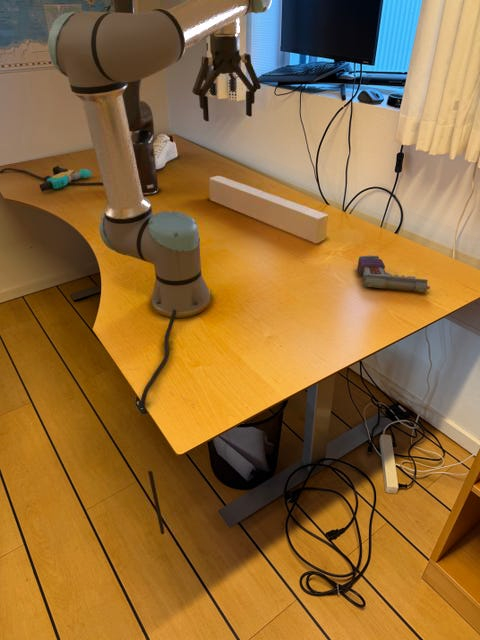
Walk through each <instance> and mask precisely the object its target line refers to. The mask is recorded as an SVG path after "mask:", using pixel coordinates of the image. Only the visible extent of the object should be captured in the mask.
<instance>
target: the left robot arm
mask: <svg viewBox="0 0 480 640" xmlns="http://www.w3.org/2000/svg"><path fill="white" fill-rule="evenodd" d="M112 5H113V13H136V12H135V3H134V0H112ZM213 36H214V34H212V35H210V36H209V48H210V52H209V53H210V54H211V56H212V55H213V50H212V37H213ZM238 66H239V67H240V69H241V70H242V60H241V61H240V63H239V65H238ZM213 68H214V65H213V63H212V62H211V63H210V66H208V70H207V72H206V75H205V78H204V82H205V81H206V80H207V78H208V77H209V75H210V74H211V71H212V69H213ZM221 75H222V74H221V73H220V74H219V76H217V78H216V79H215V81H214V82H213V84H212V85H211V87H210V89H209V93H210V96H214V97H216V96H217V95H218V89H217V80H218V78H219V77H220V76H221ZM227 75H228V77H229V91H230V92H232V93H234V92H236V91H237V86H238V85H237V81H238V80H237V79H238V78H239V77H238V75H237V74H236V73H235V72H233V73H227ZM142 81H143V79H140V80H137V81H134V82H127V87H126V89H125V90H124V92H123V94H122V96H123V101H124V106H125V110H126V115H127V120H128V125H129V130H130V133H131V134H130V135H131V140H132V145H133V150H134V155H135V160H136V164H137V169H138V174H139V179H140V184H141V189H142V194H143V196H151V195H155V194H158V192H159V190H160V189H159V183H158V181H159V180H158V173H157V172H158V171H157V169H156V163H155V155H154V147H153V144H154V142H155V125H154V124H155V123H154V114H153V111H152V108H151V107H150V105H149V104H148V103H147V102H145V101H144V100H142V99H141V98H140V97H141V96H140V95H141V91H140V90H141V84H142ZM5 171H14V172H19V173H25V174H27V175H30V176H32V177H35V178H37V179H39V180H42V181H44V179H43V178H44V177H42V176H39V175H37V174H35V173H32V172H30V171H27V170H24V169H19V168H13V167H4V168H2V169H1V170H0V174H2V173H3V172H5ZM66 185H69V186H70V185H73V186H91V185H103V181H101V182H100V181H99V182H98V181H97V182H95V181H93V182H72V181H71V182H69V183H67V184H66Z"/></svg>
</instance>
